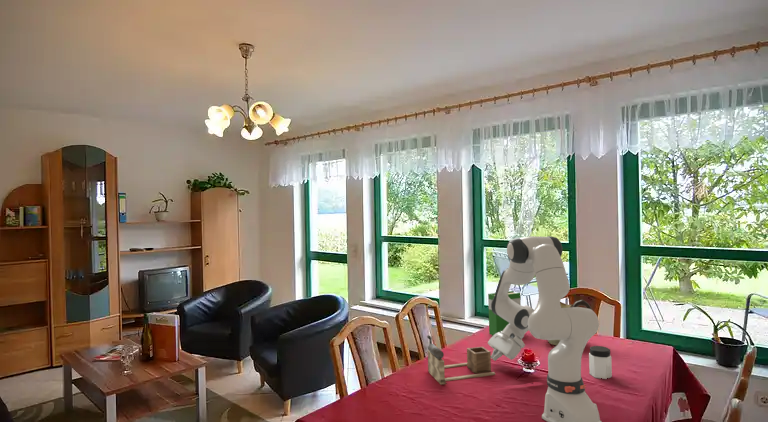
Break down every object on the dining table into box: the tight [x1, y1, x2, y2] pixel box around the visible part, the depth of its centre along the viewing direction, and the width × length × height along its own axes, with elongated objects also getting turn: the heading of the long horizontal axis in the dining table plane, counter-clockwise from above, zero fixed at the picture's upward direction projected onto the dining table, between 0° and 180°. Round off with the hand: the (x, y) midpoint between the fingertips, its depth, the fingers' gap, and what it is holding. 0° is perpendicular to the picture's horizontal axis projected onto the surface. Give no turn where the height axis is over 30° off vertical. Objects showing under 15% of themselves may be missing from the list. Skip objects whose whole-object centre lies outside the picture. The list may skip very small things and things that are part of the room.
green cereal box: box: [487, 290, 522, 336], centre depth 266 cm, size 18×7×24 cm, turn 112°
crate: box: [466, 346, 492, 374], centre depth 206 cm, size 8×8×9 cm
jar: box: [588, 345, 613, 380], centre depth 198 cm, size 9×8×12 cm
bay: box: [426, 335, 496, 385], centre depth 204 cm, size 17×27×17 cm, turn 104°
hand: (492, 359), depth 207 cm, fingers closed
